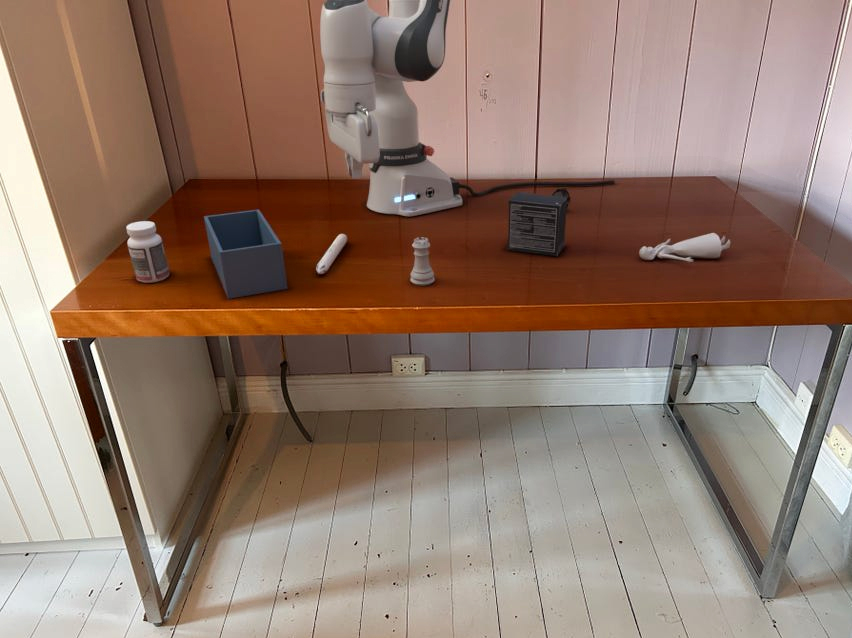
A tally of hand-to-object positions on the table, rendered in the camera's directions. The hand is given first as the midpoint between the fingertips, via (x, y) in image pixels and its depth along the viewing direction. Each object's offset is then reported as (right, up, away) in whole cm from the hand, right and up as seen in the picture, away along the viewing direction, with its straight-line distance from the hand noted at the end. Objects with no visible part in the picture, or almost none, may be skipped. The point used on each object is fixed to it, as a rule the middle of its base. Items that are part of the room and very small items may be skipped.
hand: (355, 177), depth 134 cm
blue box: (-20, -18, 0) cm, 27 cm away
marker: (-6, -15, +6) cm, 17 cm away
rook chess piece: (+13, -20, -3) cm, 24 cm away
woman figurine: (+63, -14, +8) cm, 65 cm away
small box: (+35, -12, +12) cm, 38 cm away
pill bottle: (-36, -19, -2) cm, 41 cm away
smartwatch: (+42, 0, +33) cm, 53 cm away
